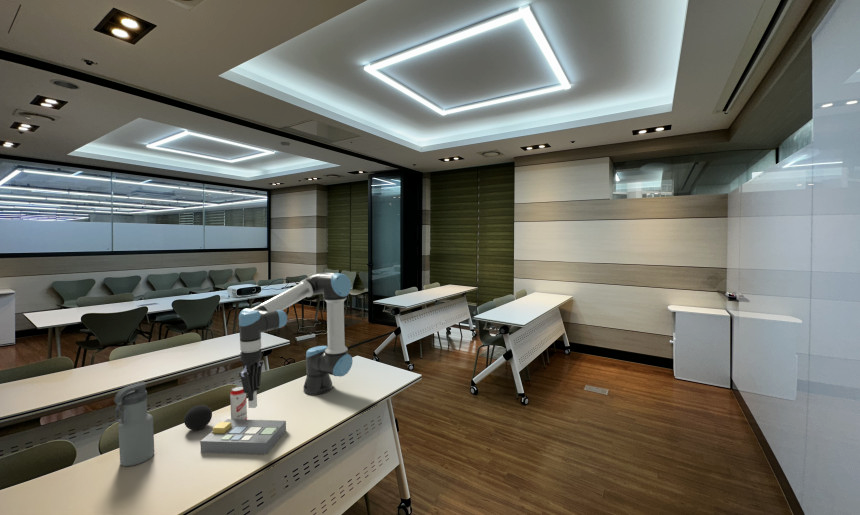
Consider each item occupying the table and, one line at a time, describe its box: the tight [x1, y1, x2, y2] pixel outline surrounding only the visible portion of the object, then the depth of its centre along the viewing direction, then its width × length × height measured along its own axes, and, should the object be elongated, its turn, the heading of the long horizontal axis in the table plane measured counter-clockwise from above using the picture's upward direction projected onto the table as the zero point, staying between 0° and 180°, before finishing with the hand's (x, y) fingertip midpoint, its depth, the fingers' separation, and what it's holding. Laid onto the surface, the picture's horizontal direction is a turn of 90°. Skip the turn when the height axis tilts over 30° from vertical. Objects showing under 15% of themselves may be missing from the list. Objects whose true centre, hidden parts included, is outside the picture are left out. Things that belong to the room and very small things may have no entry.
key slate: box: [229, 427, 247, 434], centre depth 138 cm, size 5×5×2 cm
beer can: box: [229, 385, 248, 420], centre depth 151 cm, size 6×6×16 cm
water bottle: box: [114, 381, 155, 467], centre depth 126 cm, size 10×10×28 cm
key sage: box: [260, 427, 277, 435], centre depth 137 cm, size 5×5×2 cm
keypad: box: [199, 418, 287, 455], centre depth 138 cm, size 16×26×5 cm, turn 87°
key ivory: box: [244, 427, 262, 435], centre depth 137 cm, size 5×5×2 cm
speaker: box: [183, 404, 213, 431], centre depth 147 cm, size 10×10×10 cm
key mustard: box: [212, 421, 231, 434], centre depth 138 cm, size 5×5×2 cm
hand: (252, 406), depth 137 cm, fingers closed
